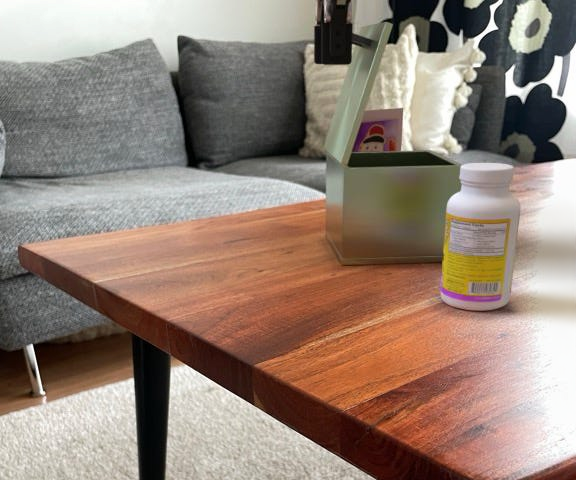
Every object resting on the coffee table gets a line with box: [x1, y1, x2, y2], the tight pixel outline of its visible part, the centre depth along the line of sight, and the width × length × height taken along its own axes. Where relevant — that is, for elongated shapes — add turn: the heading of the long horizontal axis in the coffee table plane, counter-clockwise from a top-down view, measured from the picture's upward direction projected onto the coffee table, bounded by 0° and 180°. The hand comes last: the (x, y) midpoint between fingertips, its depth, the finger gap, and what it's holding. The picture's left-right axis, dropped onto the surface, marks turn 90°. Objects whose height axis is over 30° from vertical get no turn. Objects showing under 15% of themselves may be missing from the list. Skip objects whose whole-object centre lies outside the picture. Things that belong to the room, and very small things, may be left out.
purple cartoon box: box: [352, 107, 404, 152], centre depth 106 cm, size 11×7×15 cm, turn 129°
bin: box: [324, 149, 463, 266], centre depth 88 cm, size 14×15×11 cm
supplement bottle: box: [440, 162, 522, 312], centre depth 68 cm, size 7×7×13 cm
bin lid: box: [323, 21, 394, 165], centre depth 82 cm, size 14×15×5 cm
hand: (332, 62), depth 81 cm, fingers closed on bin lid, 6 cm apart
